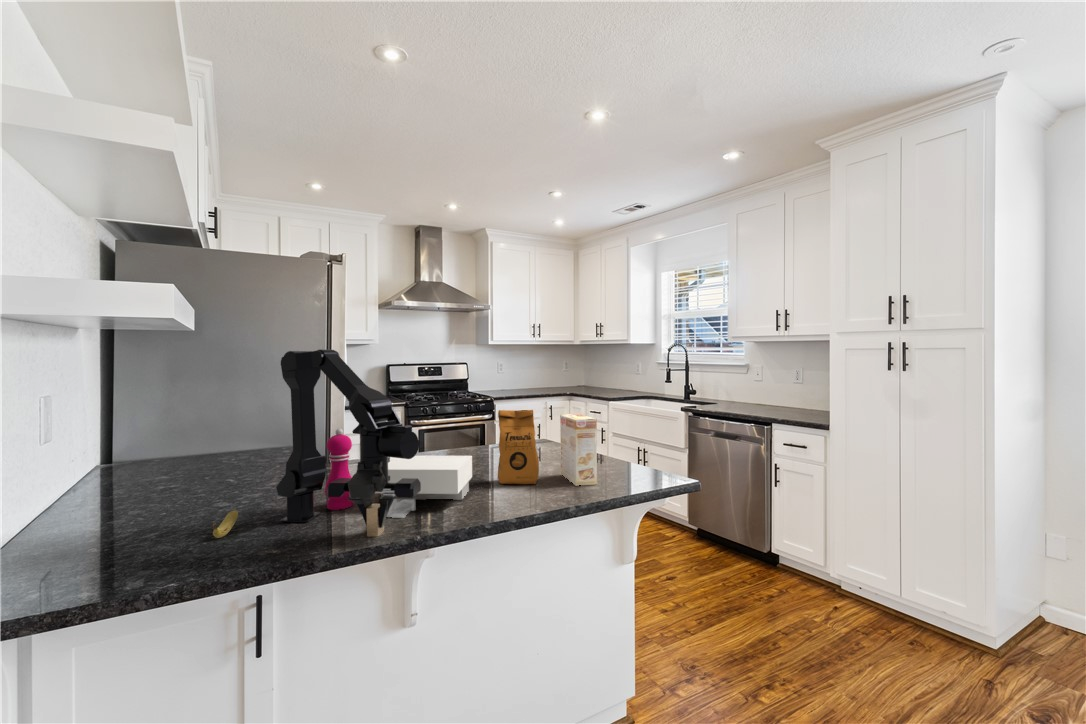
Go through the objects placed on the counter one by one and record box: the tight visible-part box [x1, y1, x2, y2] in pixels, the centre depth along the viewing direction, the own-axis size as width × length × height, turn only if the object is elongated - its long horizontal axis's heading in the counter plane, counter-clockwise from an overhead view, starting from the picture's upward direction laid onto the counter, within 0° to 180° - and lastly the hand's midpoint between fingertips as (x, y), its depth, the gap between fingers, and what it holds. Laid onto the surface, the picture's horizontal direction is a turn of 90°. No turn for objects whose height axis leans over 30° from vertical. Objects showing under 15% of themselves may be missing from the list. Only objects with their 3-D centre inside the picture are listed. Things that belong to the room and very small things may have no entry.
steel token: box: [387, 507, 411, 519], centre depth 126 cm, size 5×5×2 cm
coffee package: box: [497, 409, 540, 485], centre depth 156 cm, size 10×12×22 cm
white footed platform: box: [375, 455, 473, 501], centre depth 139 cm, size 18×24×10 cm
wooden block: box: [366, 498, 417, 538], centre depth 120 cm, size 19×7×6 cm, turn 176°
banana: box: [212, 509, 239, 539], centre depth 113 cm, size 10×2×4 cm, turn 8°
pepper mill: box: [324, 428, 354, 511], centre depth 133 cm, size 7×7×20 cm
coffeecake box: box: [559, 413, 598, 487], centre depth 159 cm, size 15×7×20 cm, turn 15°
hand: (375, 527), depth 112 cm, fingers closed on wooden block, 2 cm apart
